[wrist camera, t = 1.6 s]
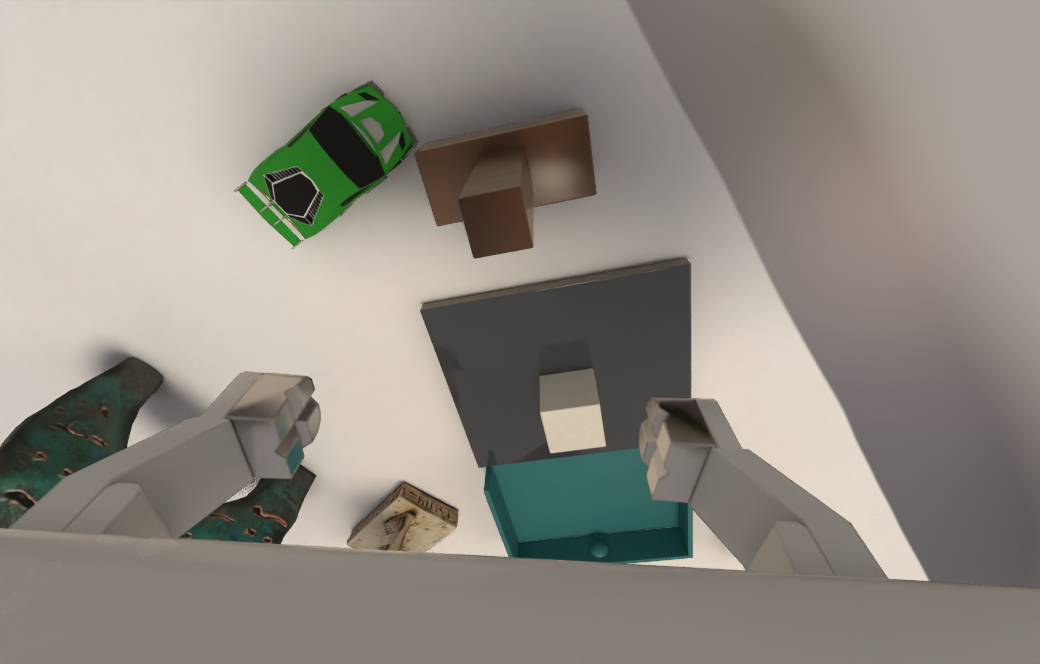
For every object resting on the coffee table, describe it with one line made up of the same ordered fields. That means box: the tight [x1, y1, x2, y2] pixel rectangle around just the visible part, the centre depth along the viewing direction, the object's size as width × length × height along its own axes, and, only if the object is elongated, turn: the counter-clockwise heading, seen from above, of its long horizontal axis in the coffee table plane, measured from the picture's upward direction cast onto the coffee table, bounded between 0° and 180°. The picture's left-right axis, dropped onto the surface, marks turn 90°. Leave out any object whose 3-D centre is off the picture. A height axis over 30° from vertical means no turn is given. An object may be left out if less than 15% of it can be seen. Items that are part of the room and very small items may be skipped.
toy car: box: [234, 81, 418, 249], centre depth 25 cm, size 10×5×2 cm, turn 125°
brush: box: [414, 108, 597, 258], centre depth 21 cm, size 9×4×11 cm, turn 102°
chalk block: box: [539, 368, 606, 453], centre depth 32 cm, size 4×4×4 cm
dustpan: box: [484, 448, 693, 564], centre depth 43 cm, size 23×17×3 cm
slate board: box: [420, 258, 691, 468], centre depth 34 cm, size 18×16×1 cm
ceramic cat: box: [0, 358, 316, 544], centre depth 30 cm, size 20×6×20 cm, turn 38°
